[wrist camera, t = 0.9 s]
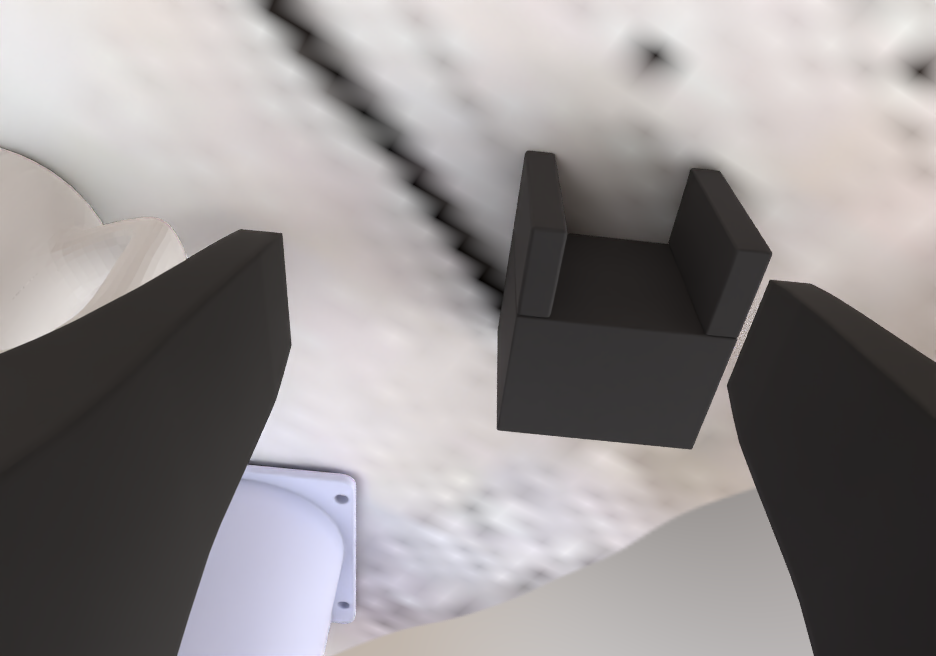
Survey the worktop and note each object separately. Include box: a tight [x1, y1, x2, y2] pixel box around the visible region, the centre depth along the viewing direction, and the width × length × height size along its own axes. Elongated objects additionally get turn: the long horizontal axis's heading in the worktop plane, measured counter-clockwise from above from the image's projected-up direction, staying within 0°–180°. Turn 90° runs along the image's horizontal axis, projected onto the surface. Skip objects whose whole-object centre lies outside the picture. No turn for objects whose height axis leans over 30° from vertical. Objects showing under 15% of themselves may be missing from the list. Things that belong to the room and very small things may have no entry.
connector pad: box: [497, 151, 772, 449], centre depth 18 cm, size 6×5×4 cm
